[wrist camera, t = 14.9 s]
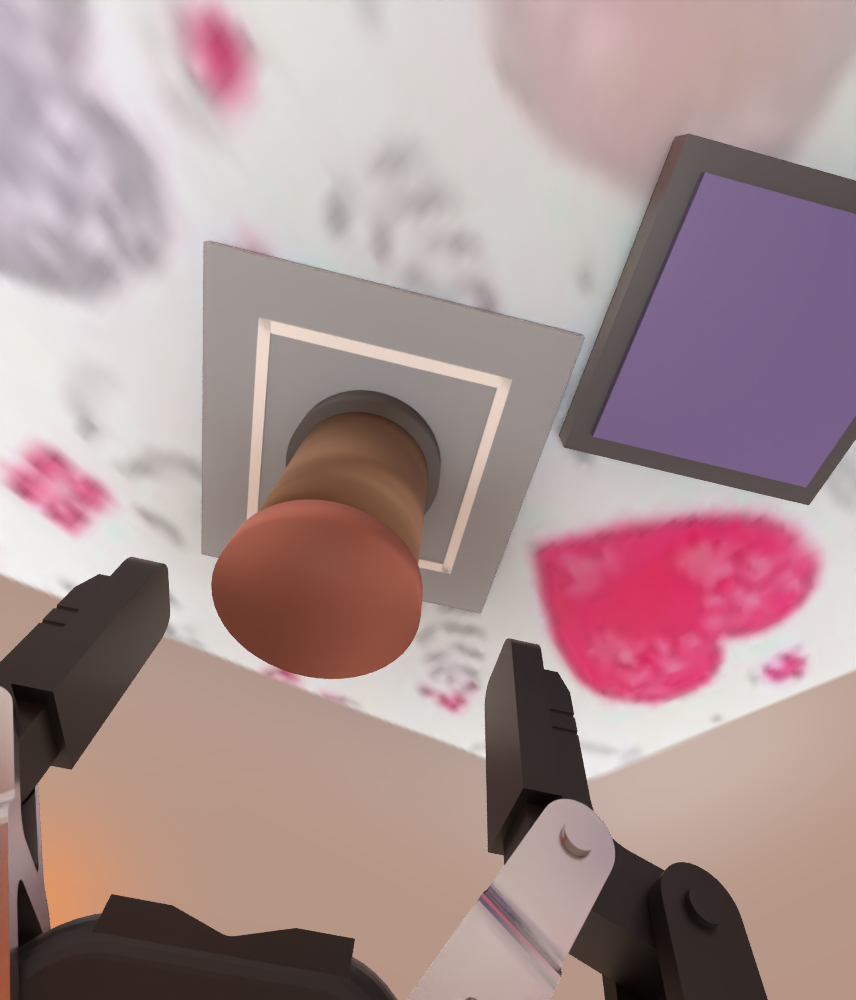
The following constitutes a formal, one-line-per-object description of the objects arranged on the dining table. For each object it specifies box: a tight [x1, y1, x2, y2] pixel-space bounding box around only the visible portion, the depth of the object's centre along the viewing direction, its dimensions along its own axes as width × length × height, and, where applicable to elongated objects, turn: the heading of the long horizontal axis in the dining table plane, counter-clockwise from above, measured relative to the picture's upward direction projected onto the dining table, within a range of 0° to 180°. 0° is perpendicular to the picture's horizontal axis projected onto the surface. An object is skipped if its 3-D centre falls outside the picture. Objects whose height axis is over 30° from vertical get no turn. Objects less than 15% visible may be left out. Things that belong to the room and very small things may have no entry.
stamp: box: [211, 390, 441, 679], centre depth 16 cm, size 5×5×8 cm
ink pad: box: [559, 134, 856, 505], centre depth 16 cm, size 9×9×1 cm
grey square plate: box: [202, 241, 584, 613], centre depth 19 cm, size 12×12×1 cm
